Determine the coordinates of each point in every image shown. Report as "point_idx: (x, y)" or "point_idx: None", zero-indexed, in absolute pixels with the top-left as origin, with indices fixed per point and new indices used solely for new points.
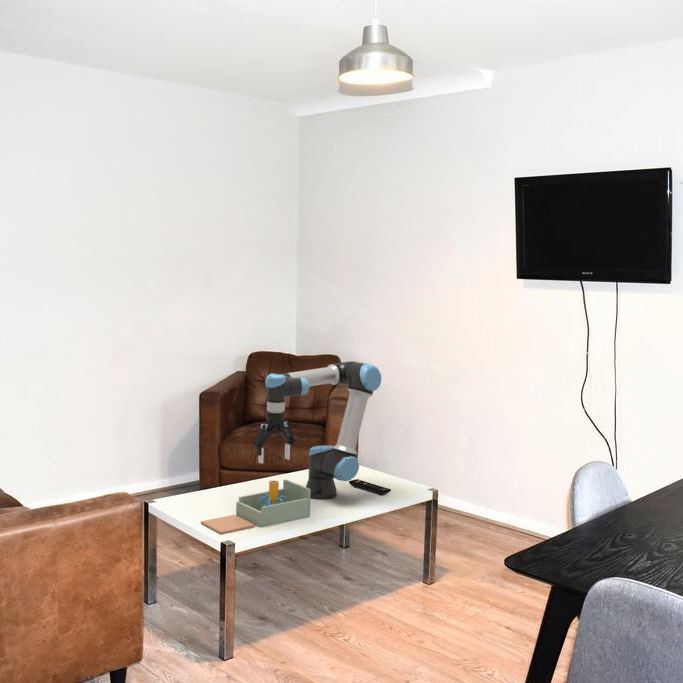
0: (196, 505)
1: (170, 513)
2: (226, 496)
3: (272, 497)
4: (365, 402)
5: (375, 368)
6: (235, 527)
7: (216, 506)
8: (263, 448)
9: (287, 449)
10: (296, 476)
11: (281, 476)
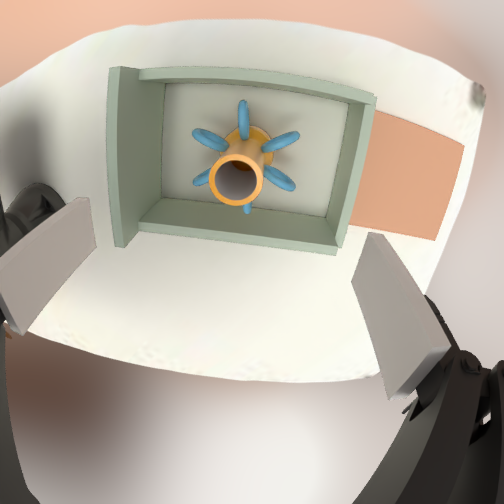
0: (334, 335)
1: None
2: (236, 342)
3: (260, 150)
4: None
5: None
6: (424, 139)
7: (309, 309)
8: (433, 342)
9: (37, 260)
10: (56, 330)
11: (78, 346)
